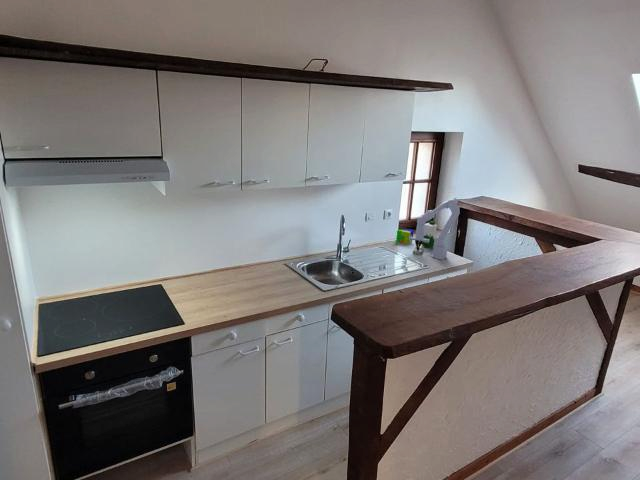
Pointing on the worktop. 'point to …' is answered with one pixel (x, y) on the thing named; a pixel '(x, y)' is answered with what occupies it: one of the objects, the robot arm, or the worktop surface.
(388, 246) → the worktop surface
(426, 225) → the milk carton
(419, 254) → the key panel
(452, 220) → the robot arm
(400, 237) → the puzzle toy
